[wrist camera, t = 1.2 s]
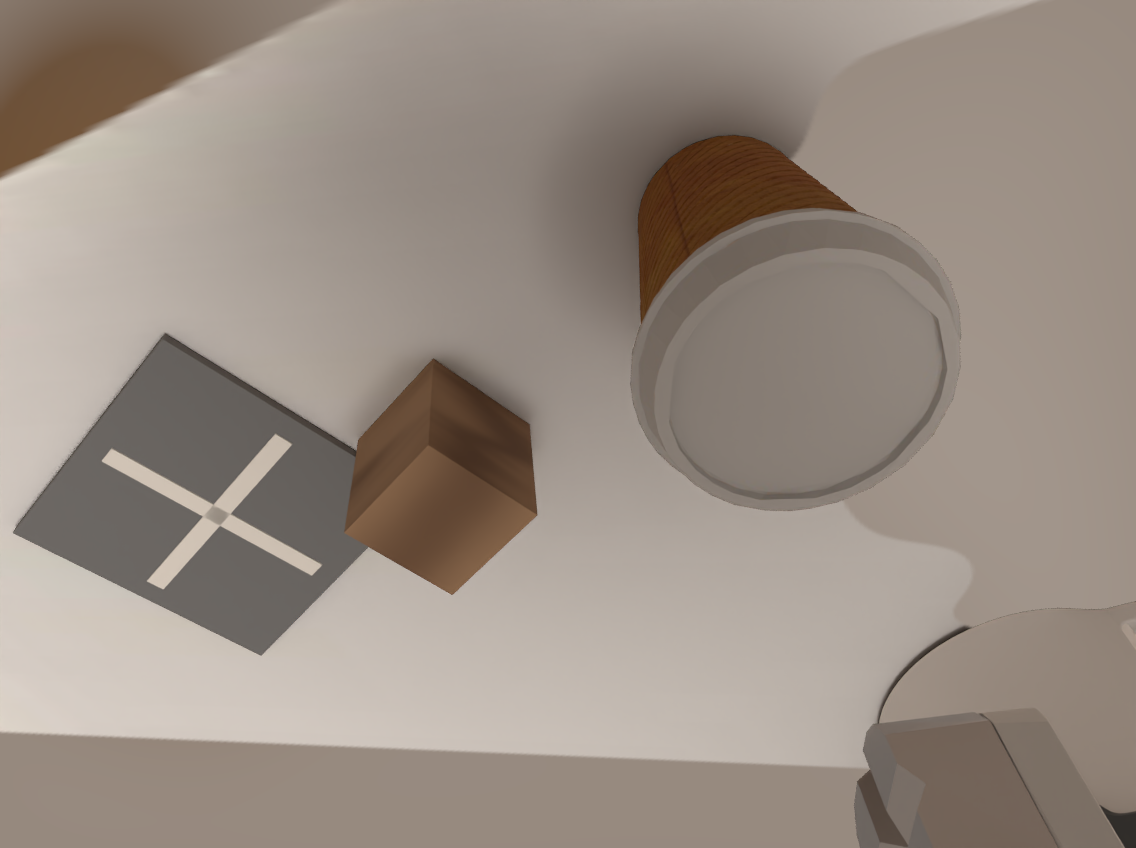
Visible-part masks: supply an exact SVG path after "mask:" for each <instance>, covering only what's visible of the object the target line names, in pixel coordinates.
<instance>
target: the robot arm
mask: <svg viewBox="0 0 1136 848" xmlns="http://www.w3.org/2000/svg"><path fill="white" fill-rule="evenodd" d="M863 752H864V754H865V757H866V760H867V762H868V765H869V767H870V770H869V771H868V772H867V773H866V774H865V775H864V776H863V777H862V778H860V779H859V780H858V781H857V787H856V795H855V803H854V808H855V820H856V830H857V837H858V841H859V845H860V848H1136V601H1135V602H1131V603H1127V604H1123V605H1118V606H1115V607H1111V608H1107V609H1071V608H1053V609H1040V610H1032V611H1026V612H1020V613H1016V614H1012V615H1008V616H1004V617H1000V618H998V619H994V620H991V621H988V622H985V623H983V624H980V625H978V626H975V627H973V628H971V629H968V630H966V631H964V632H962V633H960V634H958V635H956V636H955V637H953V638H951V639H949V640H947V641H946V642H944V643H942V644H941V645H939V646H938V647H936V648H935V649H933V650H932V651H931V652H929V653H928V654H927V655H925V656H924V657H923V658H922V659H920V660H919V661H918V662H917V663H916V664H915V665H914V666H913V667H912V668H910V669H909V670H908V672H907V673H906V674H905V675H904V676H903V677H902V678H901V679H900V681H899V682H898V683H897V684H896V686H895V687H894V689H893V690H892V692H891V693H890V695H889V697H888V698H887V700H886V702H885V705H884V707H883V709H882V712H881V716H880V720H879V724H873V725H872V726H871V727H870V729H869V730H868V731H867V733H866V737H865V742H864V747H863Z"/></svg>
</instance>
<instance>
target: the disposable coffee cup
mask: <svg viewBox="0 0 1136 848" xmlns="http://www.w3.org/2000/svg"><path fill="white" fill-rule="evenodd" d="M638 237H639V267H640V300H641V302H640V313H641V325H640V327H639V330H638V334H637V338H636V341H635V345H634V348H633V352H632V366H631V383H630V384H631V391H632V398H633V404H634V408H635V411H636V414H637V417H638V421H639V424H640V425H641V427H642V429H643V431H644V433H645V435H646V436H647V438H648V440H649V441H650V443H651V444H652V446H653V447H654V448H655V450H656V451H657V452H658V453H659V454H660V455H661V456H662V457H663V458H664V459H665V460H666V461H667V462H668V463H669V464H670V465H671V466H672V467H674V468H675V469H676V470H678V471H679V472H681V473H682V474H684V475H685V476H686V477H687V478H688V479H689V480H690V481H691V482H692V483H693V484H695V485H696V486H698V487H700V488H701V489H703V490H704V491H706V492H707V493H709V494H711V495H712V496H715V497H717V498H719V499H722V500H724V501H727V502H729V503H731V504H734V505H738V506H744V507H749V508H755V509H760V510H770V511H793V510H802V509H810V508H814V507H819V506H823V505H827V504H832V503H836V502H839V501H841V500H844V499H846V498H848V497H851V496H853V495H855V494H858V493H860V492H863V491H865V490H868V489H870V488H872V487H873V486H875V485H876V484H877V483H879V482H881V481H882V480H884V479H885V478H887V477H888V476H890V475H891V474H893V473H894V472H896V471H897V470H898V469H900V468H902V467H903V466H904V465H905V464H906V463H907V462H908V461H909V460H910V459H911V458H912V457H913V456H914V455H915V454H916V453H917V451H919V450H920V449H921V447H922V446H923V445H924V444H925V443H926V442H927V441H928V440H929V439H930V438H931V437H932V436H933V435H934V433H935V431H936V429H937V427H938V425H939V423H940V422H941V420H942V418H943V417H944V415H945V413H946V411H947V409H948V407H949V405H950V404H951V402H952V400H953V397H954V393H955V388H956V384H957V380H958V375H959V371H960V339H961V328H960V313H959V306H958V303H957V300H956V297H955V294H954V291H953V288H952V284H951V282H950V280H949V279H948V277H947V275H946V274H945V272H944V270H943V269H942V267H941V266H940V264H939V262H938V261H937V260H936V259H935V258H934V257H933V256H932V254H931V253H929V251H928V250H927V249H926V248H925V247H924V246H923V245H922V244H921V243H920V242H918V241H917V240H915V239H914V238H912V237H911V236H910V235H908V234H907V233H906V232H904V231H903V230H901V229H900V228H899V227H897V226H895V225H893V224H890V223H887V222H885V221H882V220H879V219H877V218H874V217H871V216H869V215H866V214H863V213H860V212H857V211H856V210H855V209H854V208H852V207H851V206H849V205H848V204H847V203H846V202H844V201H843V200H841V198H840V197H838V196H836V195H835V194H834V193H833V192H831V191H830V190H828V189H827V188H826V187H825V186H823V185H822V184H820V182H819V181H818V180H816V179H814V178H813V177H812V176H811V175H809V174H807V173H806V171H804V170H802V169H801V168H800V167H799V166H798V165H796V164H795V163H794V162H792V161H791V160H789V159H788V158H787V157H786V156H785V155H784V154H783V153H782V152H780V151H779V150H777V149H776V148H774V147H772V146H771V145H769V144H768V143H765V142H762V141H760V140H757V139H754V138H750V137H743V136H736V135H733V136H717V137H714V138H710V139H707V140H703V141H700V142H697V143H695V144H692V145H690V146H688V147H686V148H684V149H683V150H681V151H680V152H678V153H677V154H675V155H674V156H673V157H671V158H670V159H669V160H668V161H667V162H666V163H665V164H664V165H663V166H662V167H661V168H660V170H659V171H658V172H657V173H656V174H655V175H654V177H653V178H652V180H651V181H650V183H649V184H648V186H647V189H646V191H645V193H644V195H643V198H642V200H641V205H640V209H639V214H638Z"/></svg>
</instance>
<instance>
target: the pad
mask: <svg viewBox="0 0 1136 848" xmlns="http://www.w3.org/2000/svg"><path fill="white" fill-rule="evenodd" d="M355 458H356V451H355V450H353V449H351V448H350V447H348V446H346V445H345V444H343V443H342V442H340V441H338V440H337V439H335V438H333V437H332V436H330V435H329V434H327V433H325V432H324V431H322V430H320V429H319V428H317V427H316V426H314V425H312V424H311V423H309V422H307V421H306V420H304V419H303V418H301V417H299V416H298V415H296V414H294V413H293V412H291V411H290V410H288V409H286V408H285V407H283V406H281V405H280V404H278V403H277V402H275V401H273V400H272V399H270V398H268V397H267V396H265V395H264V394H262V393H260V392H259V391H257V390H255V389H254V388H252V387H251V386H249V385H247V384H246V383H244V382H242V381H241V380H239V379H238V378H236V377H234V376H233V375H231V374H229V373H228V372H226V371H225V370H223V369H221V368H220V367H218V366H216V365H215V364H213V363H212V362H210V361H208V360H207V359H205V358H203V357H202V356H200V355H199V354H197V353H195V352H194V351H192V350H190V349H189V348H187V347H186V346H184V345H182V344H181V343H179V342H177V341H176V340H174V339H173V338H171V337H169V336H168V335H166V334H164V336H163V337H162V338H161V340H160V341H159V342H158V343H157V345H156V346H155V347H154V349H153V350H152V351H151V353H150V354H149V355H148V356H147V358H146V359H145V360H144V362H143V363H142V364H141V366H140V367H139V368H138V369H137V371H136V372H135V373H134V375H133V376H132V377H131V379H130V380H129V381H128V382H127V384H126V385H125V386H124V388H123V389H122V390H121V392H120V393H119V394H118V395H117V397H116V398H115V399H114V401H113V402H112V403H111V405H110V406H109V407H108V408H107V410H106V411H105V412H104V414H103V415H102V416H101V417H100V419H99V420H98V421H97V423H96V424H95V425H94V427H93V428H92V429H91V430H90V432H89V433H88V434H87V436H86V437H85V438H84V440H83V441H82V442H81V443H80V445H79V446H78V447H77V449H76V450H75V451H74V453H73V454H72V455H71V456H70V458H69V459H68V460H67V462H66V463H65V464H64V466H63V467H62V468H61V469H60V471H59V472H58V473H57V475H56V476H55V477H54V479H53V480H52V481H51V482H50V484H49V485H48V486H47V488H46V489H45V490H44V492H43V493H42V494H41V495H40V497H39V498H38V499H37V501H36V502H35V503H34V505H33V506H32V507H31V508H30V510H29V511H28V512H27V514H26V515H25V516H24V517H23V519H22V520H21V521H20V523H19V524H18V525H17V527H16V528H15V530H14V532H13V533H14V534H16V535H18V536H20V537H22V538H24V539H26V540H28V541H30V542H32V543H34V544H36V545H38V546H40V547H42V548H44V549H46V550H48V551H50V552H52V553H54V554H56V555H59V556H61V557H63V558H65V559H67V560H69V561H71V562H73V563H75V564H77V565H79V566H81V567H83V568H85V569H87V570H89V571H91V572H93V573H95V574H97V575H99V576H101V577H103V578H105V579H107V580H109V581H111V582H113V583H115V584H117V585H119V586H121V587H123V588H125V589H127V590H129V591H131V592H133V593H135V594H137V595H139V596H141V597H143V598H145V599H147V600H150V601H152V602H154V603H156V604H158V605H160V606H162V607H164V608H166V609H168V610H170V611H172V612H174V613H176V614H178V615H180V616H182V617H184V618H186V619H188V620H190V621H192V622H194V623H196V624H198V625H200V626H202V627H204V628H206V629H208V630H210V631H212V632H214V633H216V634H218V635H220V636H222V637H224V638H226V639H228V640H230V641H232V642H234V643H236V644H238V645H241V646H243V647H245V648H247V649H249V650H251V651H253V652H255V653H257V654H259V655H262V654H263V653H264V652H265V651H266V650H267V649H268V648H269V647H270V646H271V645H272V644H273V643H274V642H275V641H276V640H277V639H278V638H279V637H280V636H281V635H282V634H283V633H284V632H285V631H286V630H287V629H288V628H289V627H290V626H291V625H292V624H293V623H294V622H295V621H296V620H297V619H298V618H299V617H300V616H301V615H302V614H303V613H304V612H305V611H306V610H307V609H308V608H309V607H310V606H311V605H312V604H313V603H314V602H315V601H316V600H317V599H318V598H319V597H320V596H321V595H322V593H323V592H324V591H325V590H326V589H327V588H328V587H329V586H330V585H331V584H332V583H333V582H334V581H335V580H336V579H337V578H338V577H339V576H340V575H341V574H342V573H343V572H344V571H345V570H346V569H347V568H348V567H349V566H350V565H351V564H352V563H353V562H354V561H355V560H356V559H357V558H358V557H359V556H360V555H361V554H362V553H363V552H364V551H365V550H366V549H367V548H368V546H366V545H364V544H363V543H361V542H359V541H357V540H356V539H354V538H352V537H350V536H349V535H347V534H345V533H344V530H345V524H346V517H347V511H348V504H349V497H350V491H351V484H352V478H353V471H354V465H355Z"/></svg>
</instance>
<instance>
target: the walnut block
mask: <svg viewBox="0 0 1136 848" xmlns="http://www.w3.org/2000/svg"><path fill="white" fill-rule="evenodd" d="M536 516H537V506H536V494H535V482H534V471H533V459H532V447H531V435H530V425H529V424H528V423H527V422H525V421H524V420H522V419H521V418H519V417H518V416H516V415H515V414H513V413H512V412H510V411H509V410H508V409H506V408H505V407H503V406H502V405H500V404H499V403H497V402H496V401H494V400H493V399H492V398H490V397H489V396H487V395H486V394H484V393H483V392H481V391H480V390H478V389H477V388H475V387H474V386H473V385H471V384H470V383H468V382H467V381H465V380H464V379H462V378H461V377H459V376H458V375H457V374H455V373H454V372H452V371H451V370H449V369H448V368H446V367H445V366H443V365H442V364H440V363H439V362H438V361H436V360H435V359H432V361H431V362H430V363H429V364H428V365H427V366H426V367H425V368H424V369H423V370H422V371H421V372H420V374H419V375H418V376H417V377H416V378H415V379H414V380H413V381H412V382H411V383H410V384H409V385H408V387H407V388H406V389H405V390H404V391H403V392H402V393H401V394H400V395H399V396H398V397H397V398H396V400H395V401H394V402H393V403H392V404H391V405H390V406H389V407H388V408H387V409H386V410H385V412H384V413H383V414H382V415H381V416H380V417H379V418H378V419H377V420H376V421H375V422H374V423H373V425H372V426H371V427H370V428H369V429H368V430H367V431H366V432H365V433H364V434H363V435H362V436H361V438H360V439H359V440H358V445H357V452H356V458H355V465H354V471H353V478H352V484H351V491H350V497H349V504H348V511H347V517H346V524H345V530H344V533H345V534H347V535H349V536H350V537H352V538H354V539H356V540H357V541H359V542H361V543H363V544H364V545H366V546H368V547H370V548H371V549H373V550H375V551H377V552H378V553H380V554H382V555H384V556H385V557H387V558H389V559H390V560H392V561H394V562H396V563H397V564H399V565H401V566H403V567H404V568H406V569H408V570H410V571H411V572H413V573H415V574H417V575H418V576H420V577H422V578H424V579H425V580H427V581H429V582H431V583H432V584H434V585H436V586H438V587H439V588H441V589H443V590H445V591H446V592H448V593H450V594H451V595H453V594H454V593H455V592H456V591H457V590H458V589H459V588H460V587H461V586H462V585H463V584H464V583H466V582H467V581H468V580H469V579H470V578H471V577H472V576H473V575H474V574H475V573H476V572H477V571H478V570H479V569H480V568H481V567H483V566H484V565H485V564H486V563H487V562H488V561H489V560H490V559H491V558H492V557H493V556H494V555H495V554H496V553H497V552H498V551H500V550H501V549H502V548H503V547H504V546H505V545H506V544H507V543H508V542H509V541H510V540H511V539H512V538H513V537H514V536H515V535H517V534H518V533H519V532H520V531H521V530H522V529H523V528H524V527H525V526H526V525H527V524H528V523H529V522H530V521H531V520H533V519H534V518H535V517H536Z"/></svg>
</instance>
